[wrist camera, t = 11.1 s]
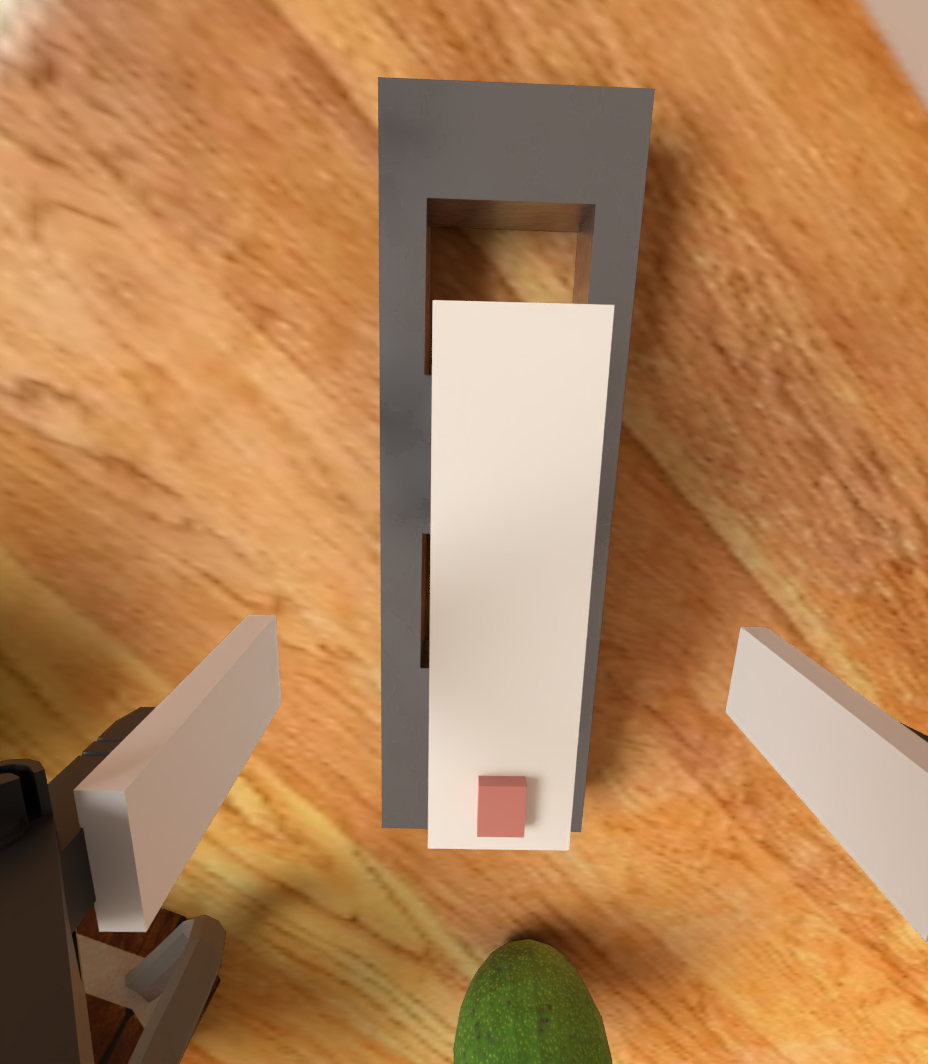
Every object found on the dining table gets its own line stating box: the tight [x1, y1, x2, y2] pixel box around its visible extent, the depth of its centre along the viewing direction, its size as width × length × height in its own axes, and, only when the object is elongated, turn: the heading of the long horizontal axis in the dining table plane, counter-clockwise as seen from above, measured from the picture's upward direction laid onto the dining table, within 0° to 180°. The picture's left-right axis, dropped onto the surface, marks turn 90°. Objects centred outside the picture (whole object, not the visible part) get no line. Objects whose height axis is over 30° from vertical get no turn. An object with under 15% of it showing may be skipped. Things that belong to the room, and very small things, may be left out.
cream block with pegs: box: [428, 300, 614, 850], centre depth 20 cm, size 18×5×10 cm, turn 179°
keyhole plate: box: [378, 77, 655, 832], centre depth 23 cm, size 32×10×3 cm, turn 178°
